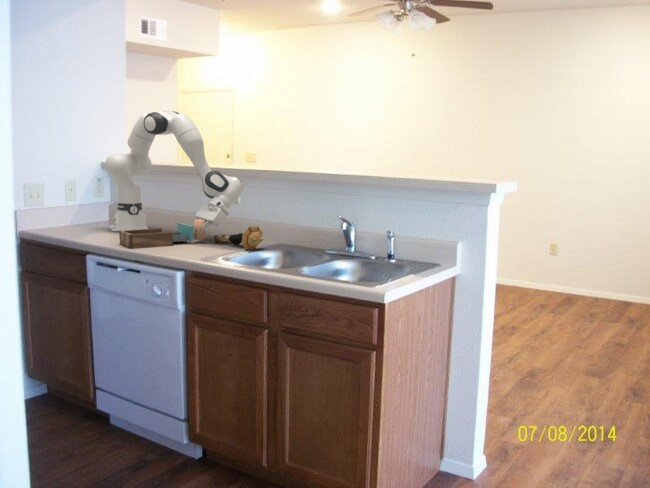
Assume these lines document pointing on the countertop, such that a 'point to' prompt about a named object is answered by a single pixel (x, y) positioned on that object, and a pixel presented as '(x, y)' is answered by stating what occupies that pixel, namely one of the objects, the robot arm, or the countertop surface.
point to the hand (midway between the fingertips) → (198, 228)
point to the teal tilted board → (183, 233)
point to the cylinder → (199, 229)
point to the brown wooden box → (145, 238)
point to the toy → (244, 238)
